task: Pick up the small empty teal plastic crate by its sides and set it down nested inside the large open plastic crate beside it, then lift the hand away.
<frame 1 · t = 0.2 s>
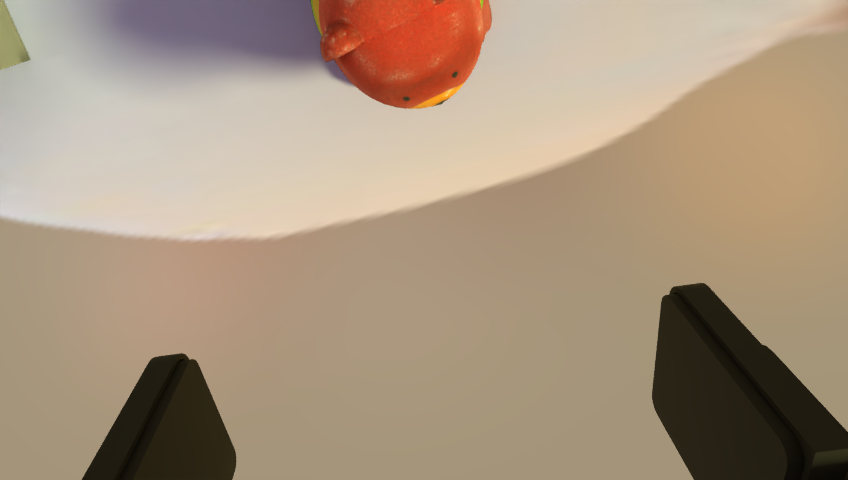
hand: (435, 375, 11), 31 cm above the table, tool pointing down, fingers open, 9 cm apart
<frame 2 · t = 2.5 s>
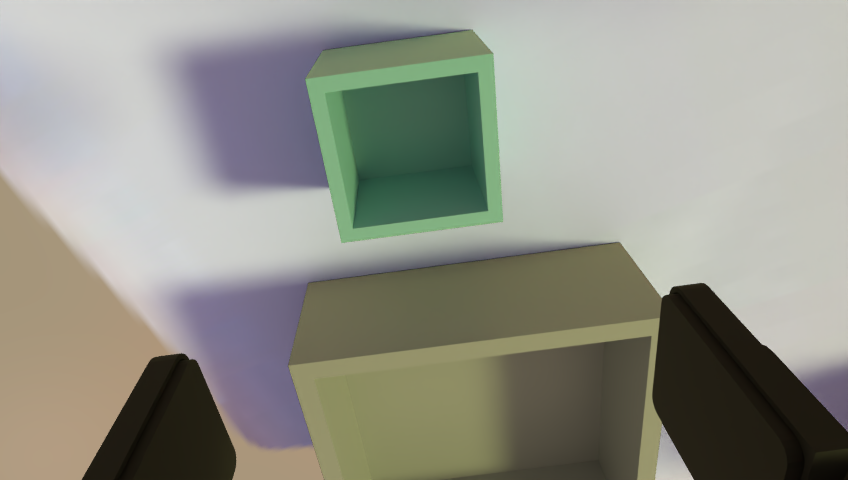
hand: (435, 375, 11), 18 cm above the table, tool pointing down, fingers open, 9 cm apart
big crate: (475, 379, 36), on the table
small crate: (407, 113, 27), on the table
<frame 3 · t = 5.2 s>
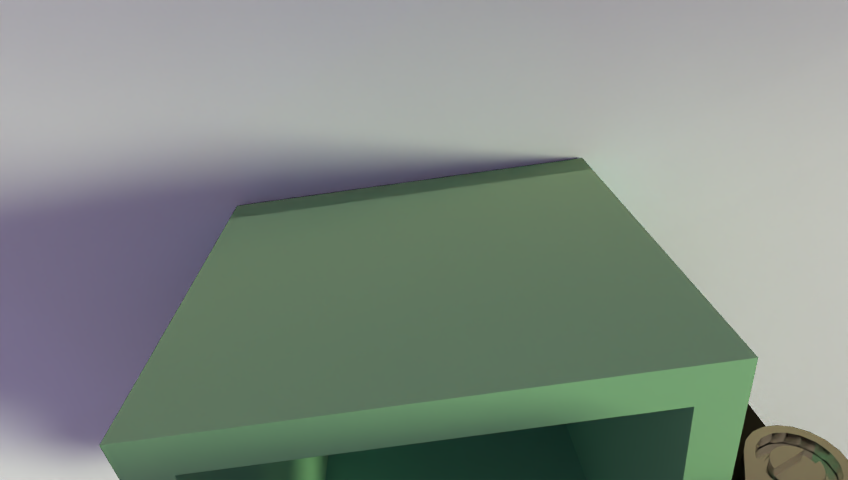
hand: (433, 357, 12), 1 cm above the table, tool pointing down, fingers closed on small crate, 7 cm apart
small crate: (429, 320, 13), on the table, touching gripper
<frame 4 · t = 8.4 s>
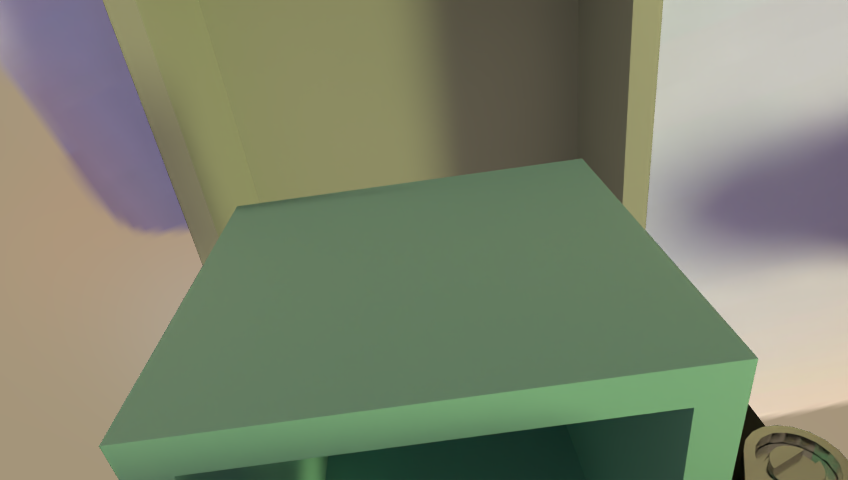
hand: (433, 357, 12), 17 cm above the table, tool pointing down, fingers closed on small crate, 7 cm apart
big crate: (409, 120, 27), on the table
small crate: (429, 321, 13), point 16 cm above the table, touching gripper
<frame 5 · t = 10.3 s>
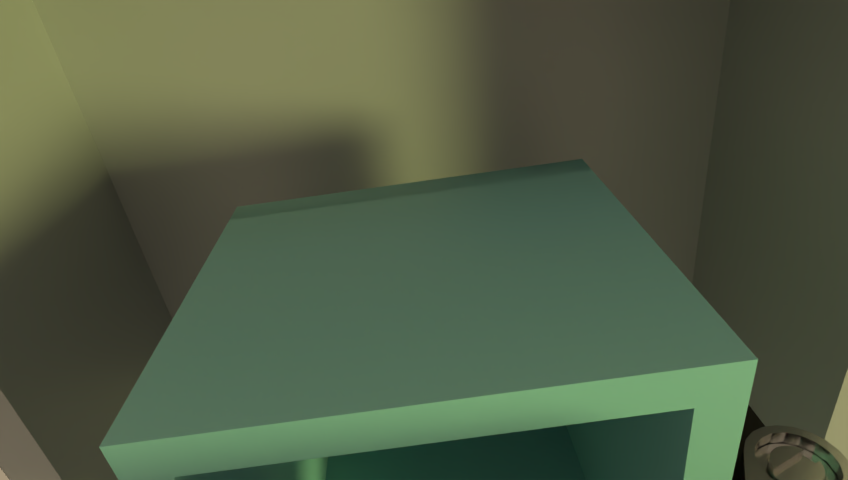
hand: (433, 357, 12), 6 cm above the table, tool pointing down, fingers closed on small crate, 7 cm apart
big crate: (424, 224, 17), on the table
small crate: (429, 321, 13), point 5 cm above the table, touching gripper
when the fingers open (4 cm above the table, at t = 11.8 s): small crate drops 1 cm, resting on big crate.
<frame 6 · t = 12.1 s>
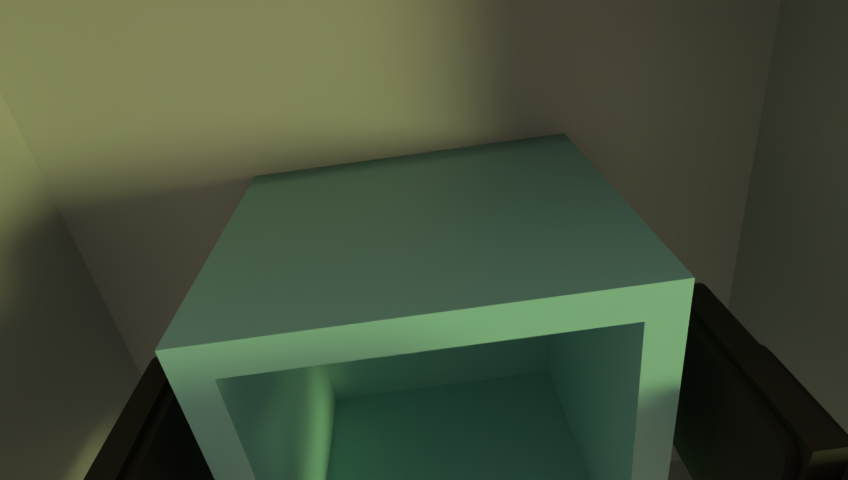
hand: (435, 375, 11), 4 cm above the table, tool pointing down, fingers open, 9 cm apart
big crate: (423, 265, 15), on the table
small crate: (427, 284, 14), point 1 cm above the table, touching big crate
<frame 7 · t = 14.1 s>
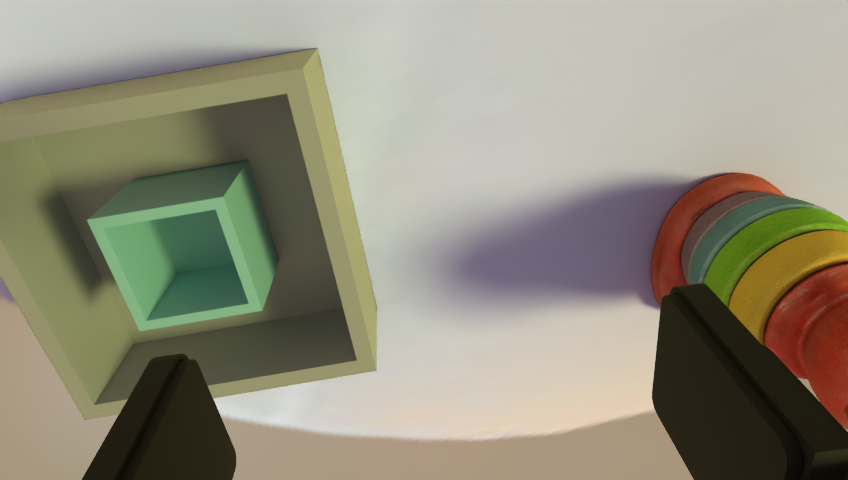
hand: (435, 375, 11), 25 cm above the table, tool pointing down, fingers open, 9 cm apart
big crate: (213, 215, 36), on the table
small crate: (209, 221, 35), point 1 cm above the table, touching big crate
stacking bear: (717, 235, 39), on the table
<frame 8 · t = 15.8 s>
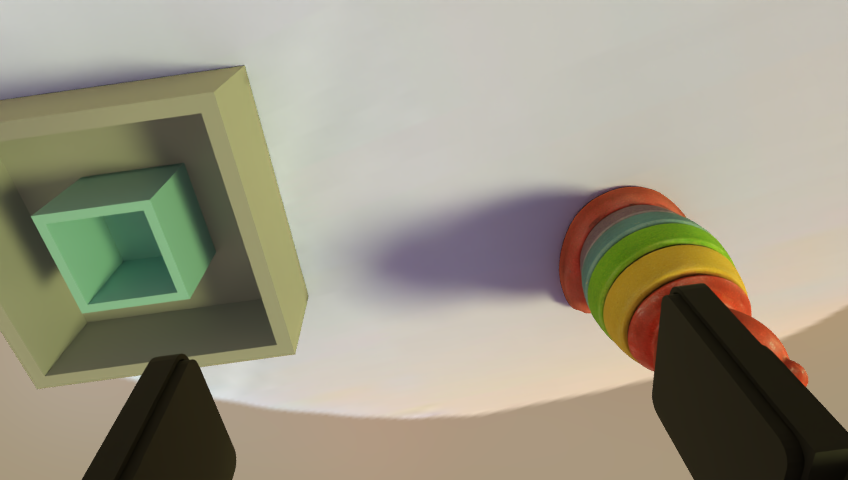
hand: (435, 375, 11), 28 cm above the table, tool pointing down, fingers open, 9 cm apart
big crate: (156, 210, 40), on the table
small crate: (151, 216, 39), point 1 cm above the table, touching big crate
stacking bear: (620, 241, 43), on the table
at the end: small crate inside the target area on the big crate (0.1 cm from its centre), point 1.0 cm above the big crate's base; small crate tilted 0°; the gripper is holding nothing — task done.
